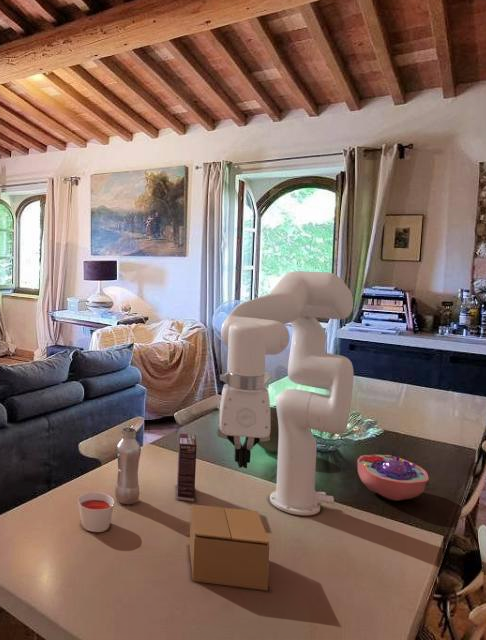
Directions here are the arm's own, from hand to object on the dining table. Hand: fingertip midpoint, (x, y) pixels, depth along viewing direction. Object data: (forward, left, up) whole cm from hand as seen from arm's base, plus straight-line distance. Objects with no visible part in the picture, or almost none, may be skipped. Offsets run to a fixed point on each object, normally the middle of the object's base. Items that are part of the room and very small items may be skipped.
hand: (241, 465), depth 112 cm
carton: (+2, 0, -23) cm, 23 cm away
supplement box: (+9, -33, -23) cm, 41 cm away
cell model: (-48, -45, -23) cm, 70 cm away
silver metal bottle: (+25, -25, -23) cm, 43 cm away
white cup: (+32, -11, -23) cm, 41 cm away
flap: (-1, 0, -13) cm, 13 cm away
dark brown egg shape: (-21, -72, -23) cm, 78 cm away
